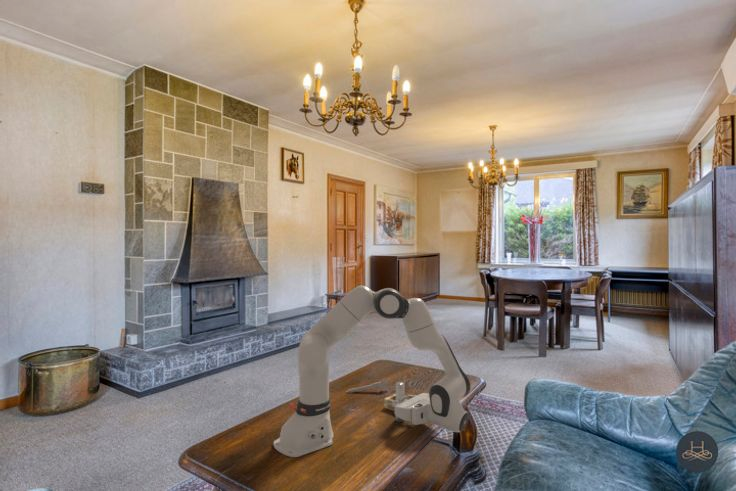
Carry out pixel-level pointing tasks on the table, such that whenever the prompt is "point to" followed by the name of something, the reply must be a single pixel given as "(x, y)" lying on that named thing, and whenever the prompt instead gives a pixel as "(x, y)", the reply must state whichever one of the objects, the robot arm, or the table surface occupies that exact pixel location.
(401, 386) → the grey rounded cylinder
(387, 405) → the bore block
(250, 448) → the table surface
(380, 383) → the caliper
